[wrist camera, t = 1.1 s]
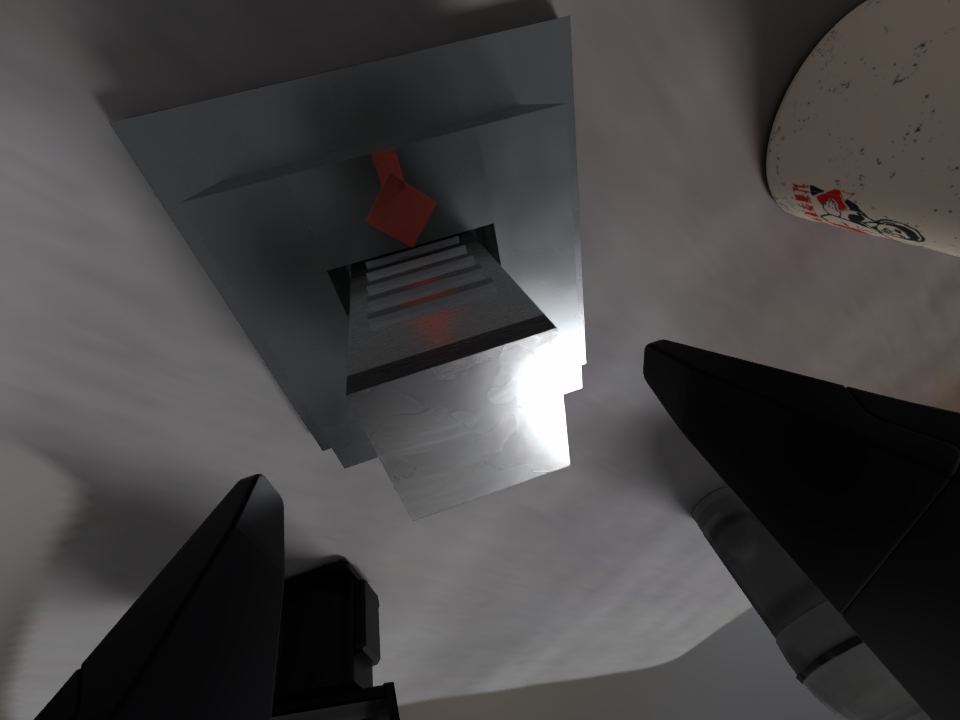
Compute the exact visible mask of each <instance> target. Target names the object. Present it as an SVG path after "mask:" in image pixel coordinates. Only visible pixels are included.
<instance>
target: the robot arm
mask: <svg viewBox="0 0 960 720" xmlns="http://www.w3.org/2000/svg"><path fill="white" fill-rule="evenodd" d="M643 374H644V378H645V380H646V382H647V383H648V385H649V386H650V388H651V389H652V390H653V392H654V393H655V395H656V396H657V398H658V399H659V400H660V402H661V403H662V405H663V406H664V408H665V409H666V411H667V412H668V413H669V415H670V416H671V418H672V419H673V421H674V422H675V423H676V425H677V426H678V428H679V429H680V430H681V431H682V433H683V434H684V435H685V436H686V437H687V439H688V440H689V441H690V442H691V443H692V444H693V446H694V447H695V448H696V449H697V450H698V451H699V453H700V454H701V455H702V456H703V457H704V458H705V459H706V461H707V462H708V463H709V464H710V465H711V466H712V467H713V469H714V470H715V471H716V472H717V473H718V474H719V476H720V477H721V478H722V479H723V480H724V481H725V482H726V484H727V485H728V486H729V487H730V488H731V489H732V491H733V492H734V493H735V494H736V495H737V496H738V497H739V499H740V500H741V501H742V502H743V503H744V504H745V505H746V507H747V508H748V509H749V510H750V511H751V512H752V514H753V515H754V516H755V517H756V518H757V519H758V520H759V522H760V523H761V524H762V525H763V526H764V527H765V529H766V530H767V531H768V532H769V533H770V534H771V535H772V537H773V538H774V539H775V540H776V541H777V542H778V543H779V545H780V546H781V547H782V548H783V549H784V550H785V552H786V553H787V554H788V555H789V556H790V557H791V558H792V560H793V561H794V562H795V563H796V564H797V565H798V567H799V568H800V569H801V570H802V571H803V572H804V573H805V575H806V576H807V577H808V578H809V579H810V580H811V581H812V583H813V584H814V585H815V586H816V587H817V588H818V590H819V591H820V592H821V593H822V594H823V595H824V596H825V598H826V599H827V600H828V601H829V602H830V603H831V605H832V606H833V607H834V608H835V609H836V610H837V611H838V613H840V614H842V618H843V619H844V620H845V621H846V622H847V623H848V625H849V626H850V627H851V628H852V629H853V630H854V631H855V633H856V634H857V635H858V636H859V637H860V638H861V640H862V641H863V642H864V643H865V644H866V645H867V646H868V648H869V649H870V650H871V651H872V652H873V653H874V654H875V656H876V657H877V658H878V659H879V660H880V661H881V663H882V664H883V665H884V666H885V667H886V668H887V669H888V671H889V672H890V673H891V674H892V675H893V676H894V677H895V679H896V680H897V681H898V682H899V683H900V684H901V686H902V687H903V688H904V689H905V690H906V691H907V692H908V694H909V695H910V696H911V697H912V698H913V699H914V700H915V702H916V703H917V704H918V705H919V706H920V707H921V709H922V710H923V711H924V712H925V713H926V714H927V715H928V717H929V718H930V719H931V720H960V413H958V412H954V411H949V410H944V409H940V408H935V407H930V406H926V405H921V404H917V403H912V402H908V401H904V400H899V399H895V398H891V397H887V396H883V395H879V394H875V393H871V392H867V391H863V390H859V389H855V388H852V387H846V388H845V387H844V386H843V385H840V384H836V383H832V382H828V381H824V380H820V379H816V378H812V377H808V376H805V375H801V374H797V373H793V372H789V371H785V370H781V369H777V368H773V367H769V366H766V365H762V364H758V363H754V362H750V361H746V360H742V359H738V358H734V357H730V356H727V355H723V354H719V353H715V352H711V351H707V350H703V349H699V348H695V347H691V346H688V345H684V344H680V343H676V342H672V341H668V340H658V341H655V342H652V343H649V344H648V345H646V347H645V350H644V366H643ZM284 576H285V549H284V505H283V500H282V498H281V496H280V494H279V493H278V492H277V491H276V490H275V488H274V487H273V486H272V485H271V483H270V482H269V481H268V480H267V479H266V477H265V476H263V475H262V474H256V475H253V476H250V477H247V478H244V479H241V480H240V481H238V482H237V483H236V485H235V486H234V487H233V488H232V489H231V490H230V492H229V493H228V494H227V495H226V496H225V497H224V499H223V500H222V501H221V502H220V503H219V504H218V506H217V507H216V508H215V509H214V510H213V511H212V513H211V514H210V515H209V516H208V517H207V519H206V520H205V521H204V522H203V523H202V524H201V526H200V527H199V528H198V529H197V530H196V531H195V533H194V534H193V535H192V536H191V537H190V538H189V540H188V541H187V542H186V543H185V544H184V545H183V547H182V548H181V549H180V550H179V551H178V552H177V554H176V555H175V556H174V557H173V558H172V559H171V561H170V562H169V563H168V564H167V565H166V566H165V568H164V569H163V570H162V571H161V572H160V573H159V575H158V576H157V577H156V578H155V579H154V580H153V582H152V583H151V584H150V585H149V586H148V587H147V589H146V590H145V591H144V592H143V593H142V594H141V596H140V597H139V598H138V599H137V600H136V601H135V603H134V604H133V605H132V606H131V607H130V608H129V610H128V611H127V612H126V613H125V614H124V615H123V617H122V618H121V619H120V620H119V621H118V622H117V624H116V625H115V626H114V627H113V628H112V629H111V631H110V632H109V633H108V634H107V635H106V636H105V638H104V639H103V640H102V641H101V642H100V643H99V645H98V646H97V647H96V648H95V649H94V650H93V652H92V653H91V654H90V655H89V656H88V657H87V659H86V660H85V661H84V662H83V663H82V666H81V669H78V670H76V671H75V672H74V674H73V675H72V676H71V677H70V678H69V680H68V681H67V682H66V683H65V684H64V685H63V687H62V688H61V689H60V690H59V691H58V692H57V694H56V695H55V696H54V697H53V698H52V699H51V701H50V702H49V703H48V704H47V705H46V706H45V707H44V709H43V710H42V711H41V712H40V713H39V714H38V715H37V717H36V718H35V719H34V720H400V718H399V713H398V706H397V700H396V694H395V688H394V682H388V683H384V684H383V685H381V686H375V687H373V674H372V666H374V665H377V664H378V662H379V660H380V637H379V612H378V608H379V600H378V596H377V595H376V593H375V592H374V591H373V590H372V588H371V587H370V586H369V584H368V583H367V582H366V581H365V580H364V579H362V578H361V577H360V576H359V574H358V573H357V572H356V570H355V569H354V568H353V567H352V565H351V564H350V563H349V562H348V561H338V562H336V563H333V564H330V565H327V566H325V567H322V568H319V569H316V570H314V571H311V572H308V573H305V574H303V575H300V576H297V577H294V578H292V579H289V580H286V581H284Z"/></svg>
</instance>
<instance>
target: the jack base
mask: <svg viewBox="0 0 960 720" xmlns="http://www.w3.org/2000/svg"><path fill="white" fill-rule="evenodd" d="M110 124H111V126H112V127H113V129H114V130H115V132H116V133H117V135H118V136H119V138H120V139H121V141H122V142H123V144H124V146H125V147H126V149H127V150H128V152H129V153H130V155H131V156H132V158H133V159H134V161H135V162H136V164H137V166H138V167H139V169H140V170H141V172H142V173H143V175H144V176H145V178H146V179H147V181H148V182H149V184H150V186H151V187H152V189H153V190H154V192H155V193H156V195H157V196H158V198H159V199H160V201H161V203H162V204H163V206H164V207H165V209H166V210H167V212H168V213H169V215H170V216H171V218H172V219H173V221H174V223H175V224H176V226H177V227H178V229H179V230H180V232H181V233H182V235H183V236H184V238H185V239H186V241H187V243H188V244H189V246H190V247H191V249H192V250H193V252H194V253H195V255H196V256H197V258H198V259H199V261H200V263H201V264H202V266H203V267H204V269H205V270H206V272H207V273H208V275H209V276H210V278H211V280H212V281H213V283H214V284H215V286H216V287H217V289H218V290H219V292H220V293H221V295H222V296H223V298H224V300H225V301H226V303H227V304H228V306H229V307H230V309H231V310H232V312H233V313H234V315H235V316H236V318H237V320H238V321H239V323H240V324H241V326H242V327H243V329H244V330H245V332H246V333H247V335H248V336H249V338H250V340H251V341H252V343H253V344H254V346H255V347H256V349H257V350H258V352H259V353H260V355H261V357H262V358H263V360H264V361H265V363H266V364H267V366H268V367H269V369H270V370H271V372H272V373H273V375H274V377H275V378H276V380H277V381H278V383H279V384H280V386H281V387H282V389H283V390H284V392H285V393H286V395H287V397H288V398H289V400H290V401H291V403H292V404H293V406H294V407H295V409H296V410H297V412H298V413H299V415H300V417H301V418H302V420H303V421H304V423H305V424H306V426H307V427H308V429H309V430H310V432H311V433H312V435H313V437H314V438H315V440H316V441H317V443H318V444H319V446H320V447H321V449H322V450H323V451H324V450H327V449H330V448H332V449H333V451H334V452H335V454H336V455H337V457H338V459H339V460H340V462H341V463H342V465H343V467H344V468H347V467H350V466H353V465H356V464H359V463H362V462H365V461H368V460H371V459H374V458H377V457H378V455H377V453H376V451H375V449H374V447H373V445H372V443H371V442H370V440H369V438H368V436H367V434H366V432H365V430H364V428H363V426H362V425H361V423H360V421H359V419H358V417H357V415H356V413H355V411H354V409H353V408H352V406H351V404H350V402H349V400H348V398H347V396H346V383H347V360H348V336H349V313H350V289H351V266H352V263H356V262H359V261H363V260H366V259H370V258H373V257H377V256H380V255H384V254H387V253H391V252H394V251H398V250H401V249H405V248H408V247H412V248H413V247H414V246H415V245H419V244H422V243H426V242H429V241H433V240H436V239H440V238H443V237H447V236H450V235H454V234H457V233H461V232H464V231H468V230H469V231H470V232H471V234H472V235H473V236H474V237H475V238H476V239H477V240H478V241H479V242H480V244H481V245H482V246H483V247H484V248H485V249H486V250H487V251H488V252H489V253H490V255H491V256H492V257H493V258H494V259H495V260H496V261H497V262H498V263H499V264H500V266H501V267H502V268H503V269H504V270H505V271H506V272H507V273H508V274H509V276H510V277H511V278H512V279H513V280H514V281H515V282H516V283H517V284H518V285H519V287H520V288H521V289H522V290H523V291H524V292H525V293H526V294H527V295H528V297H529V298H530V299H531V300H532V301H533V302H534V303H535V304H536V305H537V306H538V308H539V309H540V310H541V311H542V312H543V313H544V314H545V315H546V316H547V317H548V319H549V320H550V321H551V322H552V323H553V324H554V325H555V326H556V327H557V333H558V344H559V354H560V365H561V376H562V386H563V394H566V393H569V392H572V391H575V390H578V389H581V388H582V371H581V365H583V364H586V352H585V330H584V309H583V287H582V266H581V244H580V222H579V201H578V179H577V158H576V136H575V114H574V93H573V71H572V50H571V28H570V16H566V17H561V18H557V19H553V20H549V21H544V22H540V23H536V24H531V25H527V26H523V27H518V28H514V29H510V30H506V31H501V32H497V33H493V34H488V35H484V36H480V37H476V38H471V39H467V40H463V41H458V42H454V43H450V44H445V45H441V46H437V47H433V48H428V49H424V50H420V51H415V52H411V53H407V54H403V55H398V56H394V57H390V58H385V59H381V60H377V61H373V62H368V63H364V64H360V65H355V66H351V67H347V68H342V69H338V70H334V71H330V72H325V73H321V74H317V75H312V76H308V77H304V78H300V79H295V80H291V81H287V82H282V83H278V84H274V85H270V86H265V87H261V88H257V89H252V90H248V91H244V92H239V93H235V94H231V95H227V96H222V97H218V98H214V99H209V100H205V101H201V102H197V103H192V104H188V105H184V106H179V107H175V108H171V109H166V110H162V111H158V112H154V113H149V114H145V115H141V116H136V117H132V118H128V119H124V120H119V121H115V122H111V123H110Z"/></svg>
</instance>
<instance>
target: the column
mask: <svg viewBox="0 0 960 720" xmlns="http://www.w3.org/2000/svg"><path fill="white" fill-rule="evenodd" d="M346 396H347V398H348V400H349V402H350V404H351V406H352V408H353V409H354V411H355V413H356V415H357V417H358V419H359V421H360V423H361V425H362V426H363V428H364V430H365V432H366V434H367V436H368V438H369V440H370V442H371V443H372V445H373V447H374V449H375V451H376V453H377V455H378V457H379V458H380V460H381V462H382V464H383V466H384V468H385V470H386V472H387V474H388V475H389V477H390V479H391V481H392V483H393V485H394V487H395V489H396V491H397V492H398V494H399V496H400V498H401V500H402V502H403V504H404V506H405V507H406V509H407V511H408V513H409V515H410V517H411V519H412V521H415V520H418V519H421V518H424V517H426V516H429V515H432V514H435V513H438V512H440V511H443V510H446V509H449V508H452V507H454V506H457V505H460V504H463V503H465V502H468V501H471V500H474V499H477V498H479V497H482V496H485V495H488V494H491V493H493V492H496V491H499V490H502V489H504V488H507V487H510V486H513V485H516V484H518V483H521V482H524V481H527V480H530V479H532V478H535V477H538V476H541V475H544V474H546V473H549V472H552V471H555V470H557V469H560V468H563V467H566V466H569V465H570V460H569V450H568V439H567V428H566V418H565V407H564V397H563V386H562V376H561V365H560V354H559V344H558V333H557V327H556V326H555V325H554V324H553V323H552V322H551V321H550V320H549V319H548V317H547V316H546V315H545V314H544V313H543V312H542V311H541V310H540V309H539V308H538V306H537V305H536V304H535V303H534V302H533V301H532V300H531V299H530V298H529V297H528V295H527V294H526V293H525V292H524V291H523V290H522V289H521V288H520V287H519V285H518V284H517V283H516V282H515V281H514V280H513V279H512V278H511V277H510V276H509V274H508V273H507V272H506V271H505V270H504V269H503V268H502V267H501V266H500V264H499V263H498V262H497V261H496V260H495V259H494V258H493V257H492V256H491V255H490V253H489V252H488V251H487V250H486V249H485V248H484V247H483V246H482V245H481V244H480V242H479V241H478V240H477V239H476V238H475V237H474V236H473V235H472V234H471V232H470V231H469V230H468V231H464V232H461V233H457V234H454V235H450V236H447V237H443V238H440V239H436V240H433V241H429V242H426V243H422V244H419V245H415V246H414V247H413V248H412V247H408V248H405V249H401V250H398V251H394V252H391V253H387V254H384V255H380V256H377V257H373V258H370V259H366V260H363V261H359V262H356V263H352V266H351V289H350V313H349V336H348V360H347V383H346Z"/></svg>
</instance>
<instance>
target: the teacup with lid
mask: <svg viewBox="0 0 960 720" xmlns="http://www.w3.org/2000/svg"><path fill="white" fill-rule="evenodd" d="M766 173H767V181H768V185H769V189H770V191H771V194H772V196H773V198H774V200H775V201H776V202H777V204H778V205H779V206H780V207H781V208H782V209H783V210H784V211H786V212H788V213H789V214H791V215H794V216H797V217H800V218H804V219H808V220H812V221H816V222H820V223H825V224H829V225H833V226H837V227H841V228H845V229H849V230H853V231H857V232H861V233H865V234H869V235H873V236H877V237H881V238H885V239H889V240H893V241H898V242H902V243H906V244H910V245H914V246H918V247H922V248H926V249H930V250H934V251H938V252H942V253H946V254H950V255H954V256H958V257H960V0H867V1H865V2H864V3H862V4H861V5H859V6H858V7H856V8H855V9H854V10H852V11H851V12H850V13H848V14H847V15H846V16H845V17H844V18H842V19H841V20H840V21H839V22H838V23H837V24H836V25H835V26H834V27H833V28H832V29H831V30H830V31H829V32H828V33H827V34H826V35H825V36H824V37H823V39H822V40H821V41H820V42H819V43H818V44H817V45H816V47H815V48H814V49H813V51H812V52H811V53H810V54H809V56H808V57H807V59H806V60H805V61H804V63H803V64H802V66H801V67H800V69H799V70H798V72H797V74H796V75H795V77H794V79H793V80H792V82H791V84H790V86H789V88H788V89H787V91H786V94H785V96H784V98H783V100H782V102H781V104H780V107H779V109H778V112H777V114H776V117H775V120H774V123H773V126H772V130H771V133H770V138H769V143H768V148H767V157H766Z"/></svg>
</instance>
